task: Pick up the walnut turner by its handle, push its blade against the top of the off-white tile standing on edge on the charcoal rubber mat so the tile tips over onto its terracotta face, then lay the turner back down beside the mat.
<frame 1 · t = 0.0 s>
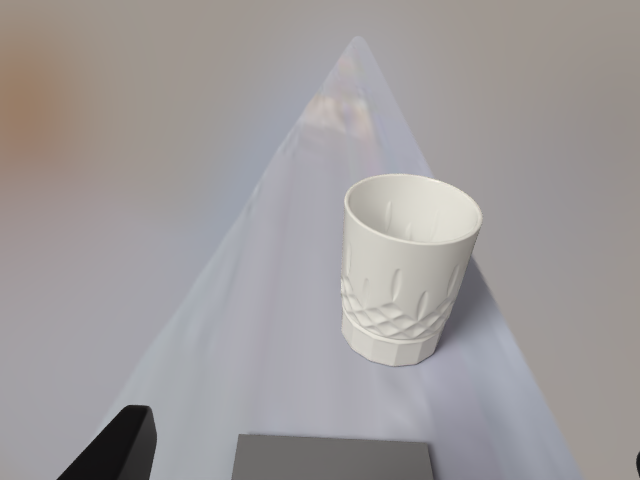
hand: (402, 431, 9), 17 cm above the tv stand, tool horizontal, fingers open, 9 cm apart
white cup: (389, 332, 35), on the tv stand
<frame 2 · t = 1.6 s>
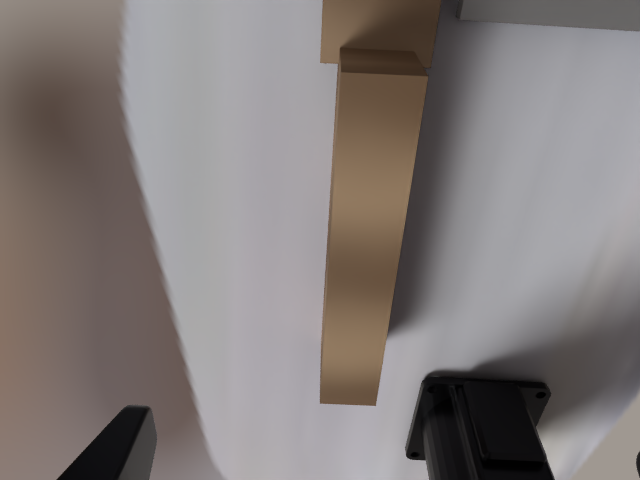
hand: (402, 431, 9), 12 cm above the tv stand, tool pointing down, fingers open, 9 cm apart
turner: (357, 221, 21), on the tv stand
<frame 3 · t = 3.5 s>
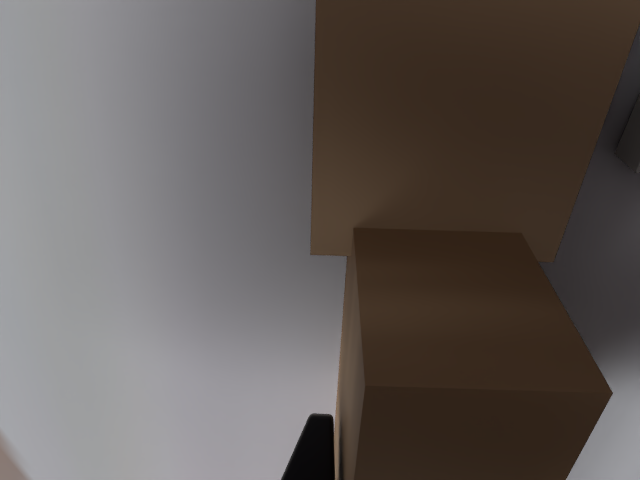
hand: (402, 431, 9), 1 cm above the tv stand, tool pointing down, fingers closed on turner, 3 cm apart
turner: (383, 461, 12), on the tv stand, touching gripper
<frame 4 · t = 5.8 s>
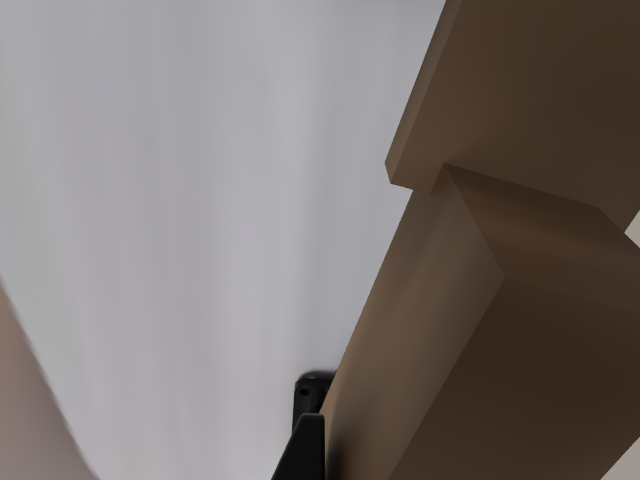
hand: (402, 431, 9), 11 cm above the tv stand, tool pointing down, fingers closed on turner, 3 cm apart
turner: (360, 448, 11), point 9 cm above the tv stand, touching arm, gripper
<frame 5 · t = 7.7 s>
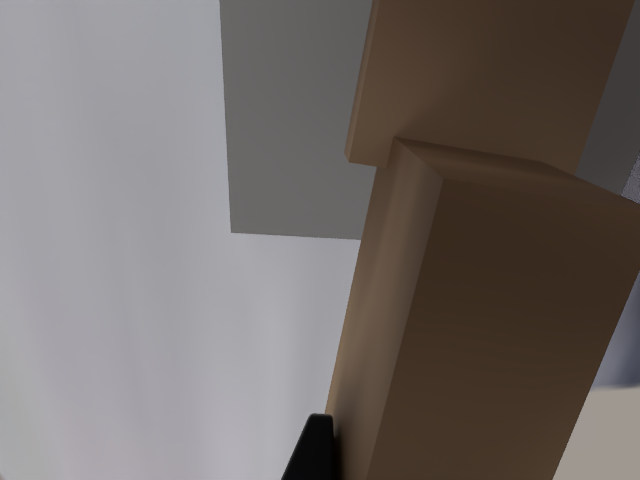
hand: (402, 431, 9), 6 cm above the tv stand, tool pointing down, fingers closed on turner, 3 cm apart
turner: (370, 463, 11), point 6 cm above the tv stand, tilted 14°, touching gripper
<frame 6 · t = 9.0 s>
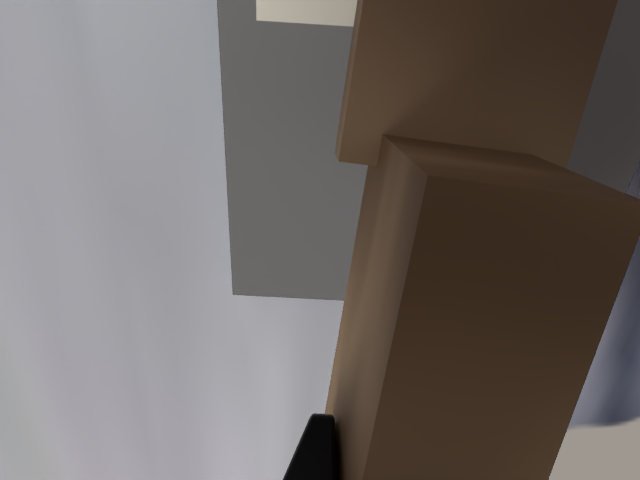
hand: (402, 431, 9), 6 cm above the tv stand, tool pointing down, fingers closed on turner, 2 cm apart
tile: (418, 21, 10), point 1 cm above the tv stand, tilted 90°, touching mat
mat: (455, 4, 11), on the tv stand
turner: (372, 462, 11), point 6 cm above the tv stand, tilted 15°, touching gripper
when the fingers open (2 cm above the tv stand, at t = 12.1 s): turner drops 1 cm, on the tv stand.
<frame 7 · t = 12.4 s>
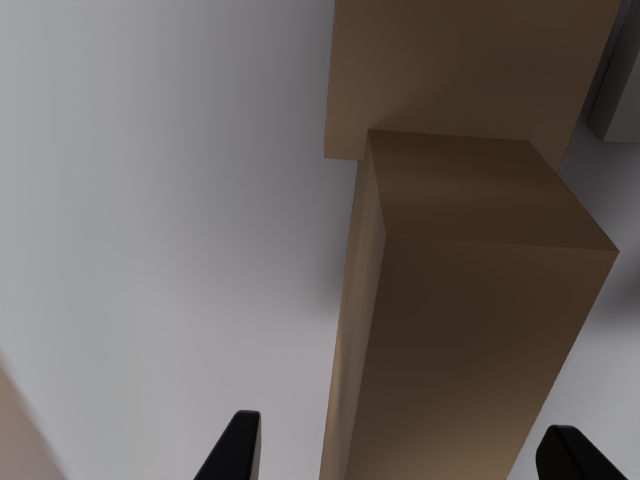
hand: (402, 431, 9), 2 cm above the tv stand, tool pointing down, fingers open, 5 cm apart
turner: (379, 397, 12), on the tv stand
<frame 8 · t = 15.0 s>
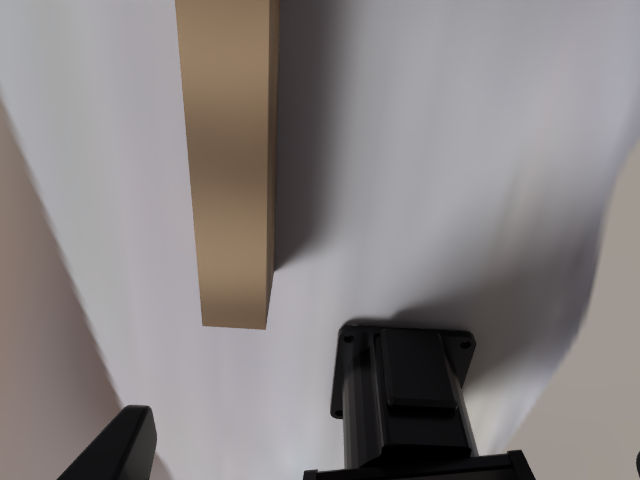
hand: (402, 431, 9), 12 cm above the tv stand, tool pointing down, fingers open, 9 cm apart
turner: (244, 117, 18), on the tv stand
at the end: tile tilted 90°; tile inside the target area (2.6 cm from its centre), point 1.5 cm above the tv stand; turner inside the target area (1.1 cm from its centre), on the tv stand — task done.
